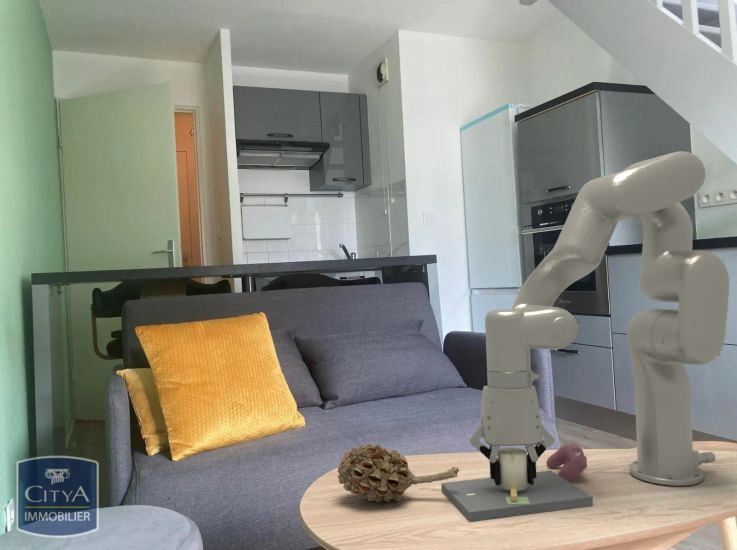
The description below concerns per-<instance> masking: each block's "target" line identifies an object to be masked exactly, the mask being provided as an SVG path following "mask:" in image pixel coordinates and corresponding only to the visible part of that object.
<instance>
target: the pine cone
mask: <svg viewBox="0 0 737 550" xmlns="http://www.w3.org/2000/svg"><path fill="white" fill-rule="evenodd" d="M340 461H341V462H339V464H338V467H337V469H338V470H337V472H338V475H337V478H338V483H339V484H341V485H343V486H342V487H343V489H344V490H345V491H347V492H350V494H352V495H357V498H359V499H360V500H364V499H367V500H368V501H369V502H371V501H374V500H375V502H377V503H379V502H381V501H382V500H384V501H385V502H387V503H388V502H390V501H391V500H393V501H396V502H400V501H401V499H402V496H403V495H404V493H405V492H406V490H407V489H409V488H410V487H412V486H413V485H418V484H425V483H427V484H429V483H433V482H439V481H440V482H441V481H445V480H449V479H454V478H458V473H459V471H460V469H459V467H458V466H456V467H454V466H453V467H451V469H448V470H447V471H442V472H438V473H434V474H428V475H418V476H417V475H415V474H413V472H412V471H411V470H410V468H409V463H408V461H407V457H406V456H405V455H401V453H399V452H398V451H397V450H396V449H393V450H391V451H389V449H388V448H387V447H384V448H383V447H382V446H381V445H380V444H379V443H377V444H375V445H372V444H367V445H366V446H364V445H358V446H357V447H356V446H352V447H351V448H350V449H348V451H345V452H344V455H343V456H341V458H340Z"/></svg>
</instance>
